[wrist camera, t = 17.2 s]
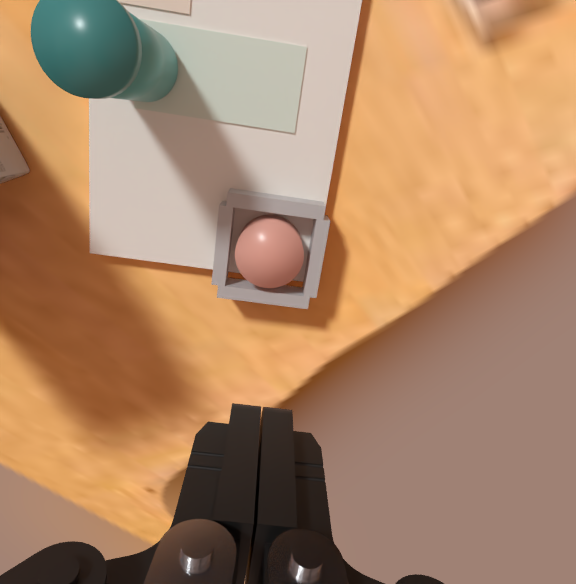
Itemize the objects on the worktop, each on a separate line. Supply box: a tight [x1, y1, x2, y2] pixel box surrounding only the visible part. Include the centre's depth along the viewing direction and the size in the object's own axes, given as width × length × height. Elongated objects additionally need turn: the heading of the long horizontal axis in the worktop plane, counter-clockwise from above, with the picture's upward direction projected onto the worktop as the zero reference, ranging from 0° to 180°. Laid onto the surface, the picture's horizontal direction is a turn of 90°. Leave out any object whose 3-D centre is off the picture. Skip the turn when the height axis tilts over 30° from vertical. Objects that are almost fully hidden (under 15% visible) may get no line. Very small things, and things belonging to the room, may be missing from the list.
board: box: [89, 0, 362, 309], centre depth 26 cm, size 14×19×2 cm
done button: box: [235, 215, 304, 288], centre depth 28 cm, size 4×4×2 cm
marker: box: [31, 0, 178, 102], centre depth 21 cm, size 4×4×8 cm
